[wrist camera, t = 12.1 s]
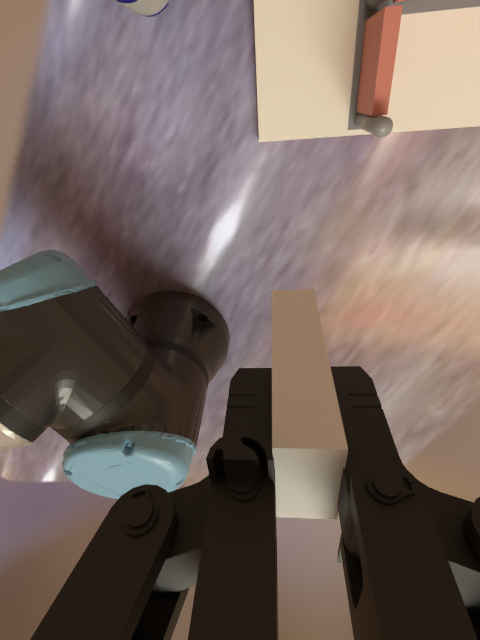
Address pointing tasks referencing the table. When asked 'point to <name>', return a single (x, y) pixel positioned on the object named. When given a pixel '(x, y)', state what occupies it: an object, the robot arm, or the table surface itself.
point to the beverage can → (146, 6)
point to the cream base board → (345, 67)
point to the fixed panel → (378, 61)
